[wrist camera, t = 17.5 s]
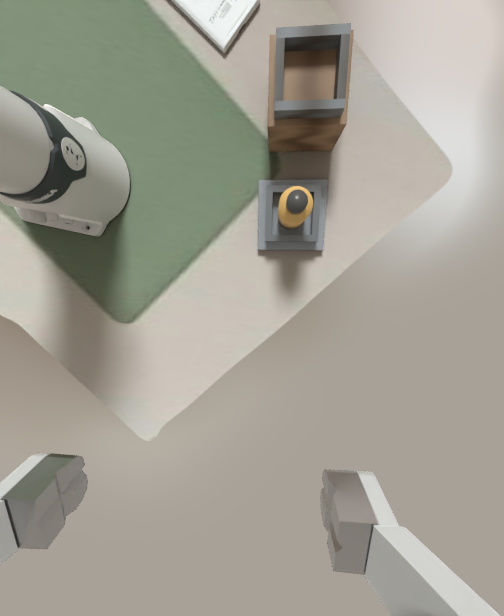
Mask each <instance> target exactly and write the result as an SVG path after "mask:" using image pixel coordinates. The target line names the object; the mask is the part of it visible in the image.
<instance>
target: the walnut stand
mask: <svg viewBox="0 0 504 616" xmlns="http://www.w3.org/2000/svg"><path fill="white" fill-rule="evenodd" d="M352 44H353V30H351V23H347V24H331V25H315V26H299V27H282V28H276V35H270V54H269V99H268V140H269V152H287V151H332V149H333V148H334V146H335V144H336V142H337V140H338V138H339V137H340V135H341V133H342V131H343V129H344V127H345V126H346V121H347V108H348V95H349V82H350V70H351V57H352Z"/></svg>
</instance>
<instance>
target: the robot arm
mask: <svg viewBox="0 0 504 616" xmlns="http://www.w3.org/2000/svg"><path fill="white" fill-rule="evenodd" d="M129 190H130V178H129V172H128V168H127V165H126V163H125V161H124V159H123V157H122V155H121V154H120V152H119V151H118V150H117V149H116V148H115V147H114V146H113V145H112V144H111V143H110V142H108V141H107V140H106V139H104V138H103V137H101V136H100V135H99V134H98V132H97V130H96V129H95V127H94V126H93V125H92V123H91V122H90V121H88V120H87V119H85V118H83V117H79V118H75V119H73V118H72V117H70V116H68V115H66V114H65V113H63V112H61V111H59V110H58V109H56V108H54V107H52V106H50V105H46V104H45V105H44V106H41V105H39V104H38V103H36V102H35V101H33V100H31V99H28V98H27V97H24V96H23V95H21V94H19V93H16V92H13V91H10V90H7V89H5V88H4V87H2V86H0V201H1V202H2V203H4V204H5V205H8V206H13V207H14V208H15V210H16V212H17V213H18V215H19V216H20V217H21V219H22V220H24V221H28V222H31V223H36V224H40V225H45V226H50V227H54V228H59V229H64V230H68V231H73V232H77V233H82V234H87V235H91V236H96V237H98V236H100V235H102V233H103V232H104V230H105V228H106V226H107V224H108V223H109V222H110V221H111V220H112V219H113V218H114V217H116V216H117V215H118V214H119V213H120V212H121V210H122V209H123V207H124V206H125V204H126V202H127V199H128V195H129ZM88 227H90V229H88ZM84 465H85V464H84V460H83V457H81V456H75V455H62V454H49V453H36V454H33V455H31V456H30V457H29V458H28V459H26V460H25V461H24V462H23V463H22V464H21V465H20V466H19V467H18V468H17V469H15V470H14V471H13V472H12V473H11V474H9V475H8V476H7V477H6V478H5V479H4V480H3V481H2V482H0V564H2V563H3V562H4V561H5V560H7V559H8V558H9V557H10V556H12V555H13V554H14V553H15V552H17V551H18V548H30V549H48V547H49V545H50V544H51V543H52V541H53V540H54V539H55V537H56V536H57V534H58V533H59V532H60V530H61V529H62V528H63V526H64V525H65V519H66V516H67V515H69V514H70V513H71V512H73V511H74V510H76V508H77V507H78V506H79V504H80V503H81V501H82V499H83V497H84V495H85V492H86V490H87V484H88V480H87V475H86V474H85V473H84V472H83V471H82V468H83V467H84ZM322 480H323V485H324V488H322V490H321V498H320V499H321V513H322V519H323V524H324V527H325V528H326V530H327V531H328V532H329V533H328V542H327V544H328V548H329V553H330V557H331V562H332V567H333V571H336V572H346V573H354V574H363V575H365V578H366V580H367V581H368V582H369V584H370V585H371V587H372V588H373V589H374V591H375V593H376V594H377V595H378V597H379V598H380V600H381V601H382V603H383V604H384V606H385V607H386V609H387V610H388V611H389V613H390V614H391V616H499V614H498V613H497V612H496V611H494V610H493V609H492V608H491V607H490V606H489V605H488V604H487V603H486V602H485V601H484V600H483V599H481V598H480V597H479V596H478V595H477V594H476V593H475V592H474V591H473V590H472V589H471V588H470V587H469V586H467V584H465V583H464V582H463V581H462V580H461V579H460V578H459V577H458V576H457V575H456V574H454V572H452V571H451V570H450V569H449V568H448V567H447V566H446V565H445V564H444V563H443V562H442V561H441V560H440V559H438V557H436V556H435V555H434V554H433V553H432V552H431V551H430V550H429V549H428V548H427V547H426V546H425V545H424V544H422V543H421V542H420V541H419V540H418V539H417V538H416V537H415V536H414V535H413V534H411V532H410V531H409V530H407V529H406V528H405V527H400V526H399V525H398V523H397V521H396V519H395V516H394V514H393V512H392V510H391V508H390V506H389V504H388V502H387V500H386V498H385V496H384V494H383V492H382V490H381V487H380V485H379V483H378V481H377V479H376V477H375V475H374V474H373V473H372V472H366V471H346V470H324V471H323V476H322Z"/></svg>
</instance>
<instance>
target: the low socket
mask: <svg viewBox="0 0 504 616" xmlns="http://www.w3.org/2000/svg"><path fill="white" fill-rule="evenodd" d="M293 186H300V187H303V188H305V189H307V190H308V191H309V192H310V194H311V196H312V198H313V208H312V211H311V213H310V214H309V216H308V217H307V218H306V219H305V221H304V222H303V223H302V224H301V225H300V226H299V227H298V228H296V229H291V230H290V229H286V228H284V227H282V226H281V224H280V223H279V220H278V209H279V200H280V197H281V195H282V194H283V193H284V191H285V190H287V189H288V188H290V187H293ZM327 187H328V179H307V180H259V207H258V250H323V245H324V231H325V216H326V201H327Z"/></svg>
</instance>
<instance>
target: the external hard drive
mask: <svg viewBox="0 0 504 616" xmlns="http://www.w3.org/2000/svg"><path fill="white" fill-rule="evenodd" d="M171 1H172V2H173V3H174V4H175V5H176V6H177V7H178V8H179V9H180V10H181V11H182V12H183V13H184V14H185V15H186V16H187V17H188V18H189V19H190V20H191V21H192V22H193V23H194V24H195V25H196V26H197V27H198V28H199V29H200V30H201V31H202V32H203V33H204V34H205V35H206V36H207V37H208V38H209V39H210V40H211V41H212V42H213V43H214V44H215V45H216V46H217V47H218V48H219V49H220V50H221V51H222V52H223V53H224V54H225V52H226V51H227V49H228V48H229V47H230V45H231V44H232V42H233V41H234V39H235V38H236V37H237V35H238V34H239V30H240V29H241V27H242V26H243V25H244V24H246V22H247V21H248V20H249V18H250V17H251V15H252V14H253V12H254V11H255V10H256V8H257V7H258V5H259V4H260V0H171Z"/></svg>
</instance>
